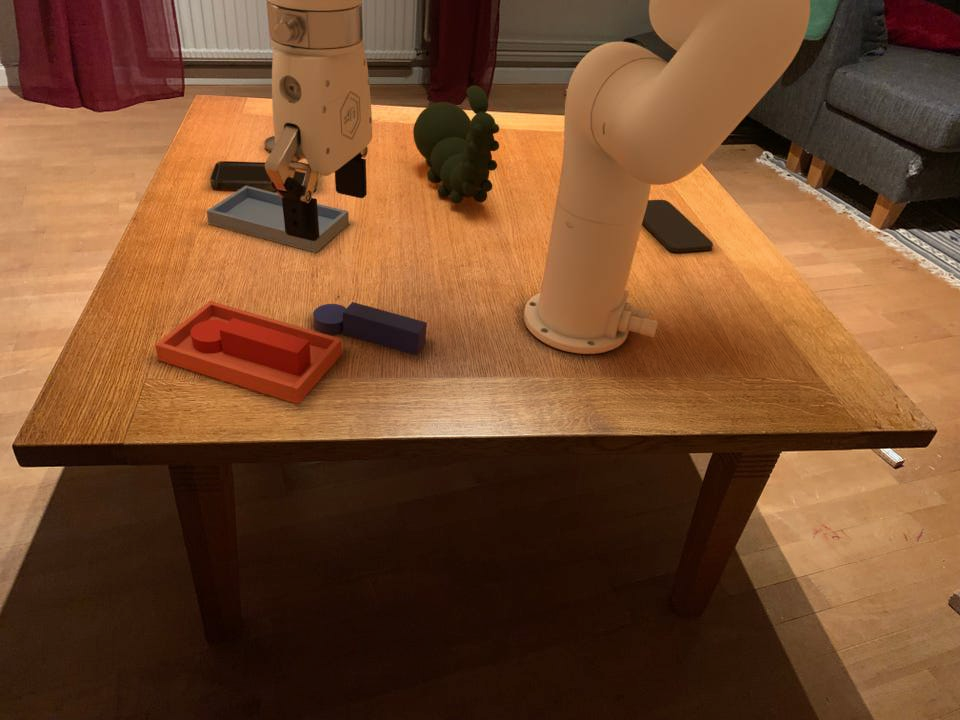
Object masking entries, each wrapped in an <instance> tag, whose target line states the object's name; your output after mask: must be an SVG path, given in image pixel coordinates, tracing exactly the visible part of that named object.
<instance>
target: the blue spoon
mask: <svg viewBox="0 0 960 720" xmlns="http://www.w3.org/2000/svg"><path fill="white" fill-rule="evenodd" d="M312 316H313V318H312V319H313V320H312V321H313V327H314V329H315V331H316V332H319V333H323V334H326V335H329V336H333V335H340V334H342V335H344V336H346V337H347V336H348V337H352V338H355V339H358V340H362V341H365V342H368V343H373V344H376V345H378V346H379V345H380V346H383V347H386V348H389V349H393V350H396V351H400V352H404V353H406V354H411V355H413V356H418V355H419V354H420V353H421V351H422V350H423V348H424V347H425V345H426V341H427V325H428V322H427V321H424V320H420V319H416V318H412V317H409V316H405V315H402V314H398V313H395V312H391V311H386V310H383V309H380V308H377V307H372V306H368V305H365V304H361V303H358V302H354V301H352V302H350V304H349V305H348V306H347V307H345V306H344V305H343V304H338V303H325V304H322V305H319V306H318V307H316V308H315V309H314V310H313V312H312Z"/></svg>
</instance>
